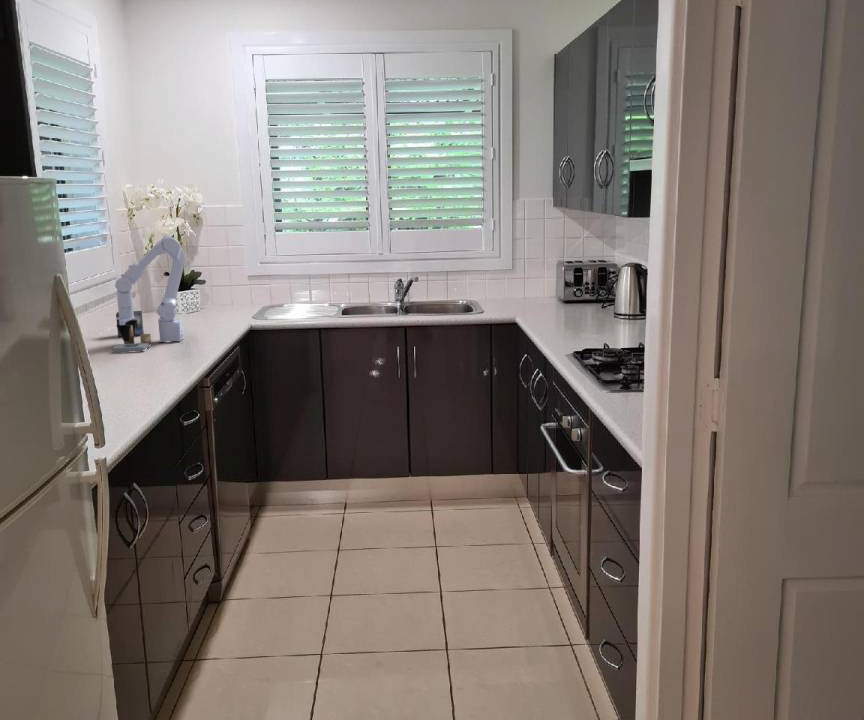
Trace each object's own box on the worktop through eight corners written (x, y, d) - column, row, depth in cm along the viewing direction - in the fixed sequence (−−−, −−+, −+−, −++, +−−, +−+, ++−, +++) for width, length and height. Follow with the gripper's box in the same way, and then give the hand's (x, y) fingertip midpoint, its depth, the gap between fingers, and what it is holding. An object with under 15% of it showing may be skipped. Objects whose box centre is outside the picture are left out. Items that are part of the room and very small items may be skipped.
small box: (117, 337, 357) (115, 314, 355) (119, 335, 363) (116, 311, 361) (143, 336, 360) (140, 312, 357) (144, 333, 366) (141, 310, 363)
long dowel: (135, 343, 343) (133, 325, 341) (133, 345, 339) (131, 326, 337) (125, 344, 343) (123, 325, 341) (123, 346, 339) (121, 327, 337)
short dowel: (152, 344, 341) (151, 333, 340) (150, 346, 337) (149, 335, 336) (142, 344, 341) (141, 334, 340) (140, 346, 337) (139, 336, 336)
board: (149, 347, 334) (148, 343, 333) (144, 352, 326) (143, 347, 326) (119, 348, 333) (118, 344, 332) (113, 353, 325) (112, 348, 325)
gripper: (120, 304, 344) (123, 336, 347) (110, 310, 330) (113, 342, 333) (137, 304, 345) (140, 335, 348) (128, 309, 330) (131, 342, 333)
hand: (128, 339), depth 340 cm, fingers open, 7 cm apart
